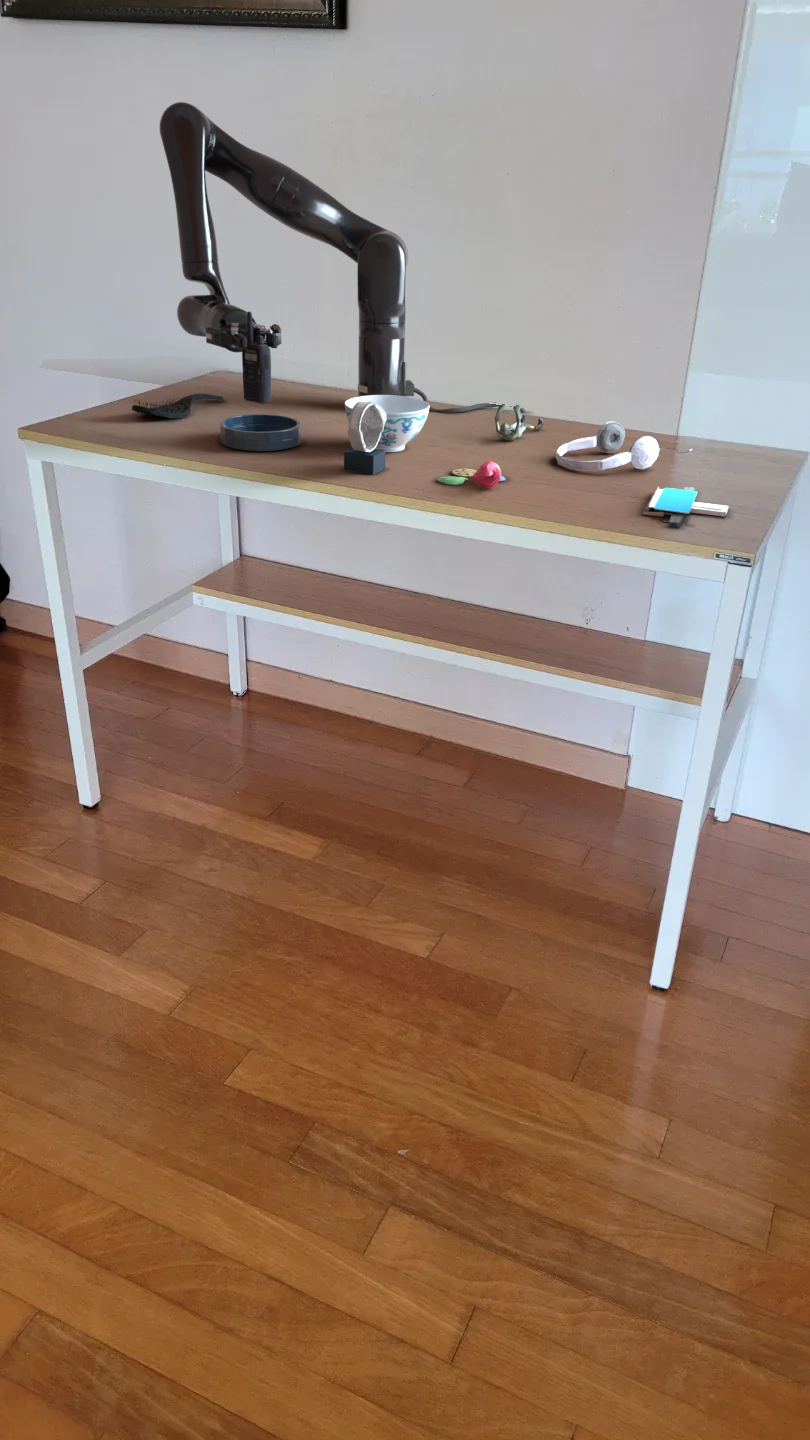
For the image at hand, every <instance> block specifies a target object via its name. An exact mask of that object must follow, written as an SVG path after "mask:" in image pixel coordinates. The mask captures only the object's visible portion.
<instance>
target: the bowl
mask: <svg viewBox="0 0 810 1440" xmlns="http://www.w3.org/2000/svg"><path fill="white" fill-rule="evenodd" d="M219 426H220V427H219V429H220V443H221V444H222V445H224V446H225V447H228V448H231V449H235V450H241V451H246V452H247V451H249V452H273V451H283V450H286V449H291V448H294V447H296V446H299V445H300V443H301V442H302V423H301V422H300V420H298V419H296V418H294V417H290V416H287V415H281V414H269V413H251V414H250V413H249V414H240V415H234V416H229V417H226V418H223V419H222V420H221V421H219Z"/></svg>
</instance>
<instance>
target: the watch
mask: <svg viewBox="0 0 810 1440" xmlns="http://www.w3.org/2000/svg"><path fill="white" fill-rule="evenodd" d="M386 420H387V416H386V413H385V411H384V410H383V408H382V407H380V406H379V405H378V404H376V403H374V402H369V401H367V402H361V401H360V402H357V403H356V404H355V405H354V407H353V408H352V411H351V414H350V419H349V420H348V430H347V433H348V439H349V443H350V446H351V448H349V449H346V450H344V451H343V471H348V472H353V473H360V474H365V475H372V476H374V475H376V474H378V473H380V472H382V471H383V470H386V452H385V450H380V449H375V448H376V446H377V444H378V441H379V439H380V435H381V433H382V432H383V429H384V424H385V422H386ZM361 422H362V423H363V425H364V427H365V430H368V434H367V437H366V440H365V441H364V439H363V434H362V431H361V430H360V426H361ZM354 424H356V425H354ZM376 437H377V438H376Z"/></svg>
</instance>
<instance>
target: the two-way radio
mask: <svg viewBox="0 0 810 1440" xmlns="http://www.w3.org/2000/svg"><path fill="white" fill-rule="evenodd" d="M247 312H248V313H247V350H242V352H241V364H242V365H241V366H242V386H243V399H244V401H246V402H253V403H257V404H260V405H264V404H267V403H270V401H271V396H272V395H271V390H272V357H271V356H272V354H271V347H269V344H268V343H266V342H265V343H263V342H264V341H263V336H261V335H259V336H257V340H256V342H253V326H252V317H253V313H252V312H251V311H247Z"/></svg>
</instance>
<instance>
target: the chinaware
mask: <svg viewBox="0 0 810 1440" xmlns="http://www.w3.org/2000/svg"><path fill="white" fill-rule="evenodd" d="M360 401H361V402H367V401H369V402H374V403H376V404H378V405H379V406H380V407H382V408H383V410H384V411H385V413H386V416H387V420H386V422H385V424H384V429H383V432H382V433H381V435H380V439H379V441H378V444H377V446H376V448H375V449H380V450H385V453H396V452H401V451H404V450H405V449H406V444H407V443H410V441H412V440H413V439H414V438H415V437H416V436H417V435H418V434H420V432H421V431H422V429H423V428H424V426H425V423H426V421H427V418H428V416H429V412H430V411H429V407H431V406H430V403H427V402H426V401H423V399H421V398H416V397H413V396H395V395H369V396H360V397H358V396H355V397H351V398H348V399H346V400H345V401H344V410H345V414H346V418H347V420H348V421H349V419H350V414H351V411H352V408H353V407H354V405H355V404H356V403H357V402H360ZM354 425H356V424H354ZM360 430H361V431H362V434H363V439H364V442H365V440H366V437H367V434H368V430H365V427H364V425H363V423H362V422H361V426H360ZM376 438H377V437H376Z"/></svg>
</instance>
